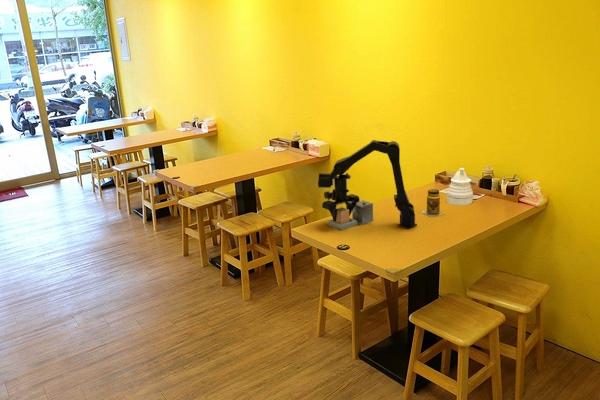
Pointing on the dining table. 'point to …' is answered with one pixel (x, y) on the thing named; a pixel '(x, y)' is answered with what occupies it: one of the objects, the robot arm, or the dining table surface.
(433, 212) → the condiment
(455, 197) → the honey pot
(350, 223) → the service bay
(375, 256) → the dining table surface
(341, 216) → the block
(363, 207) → the junction box
